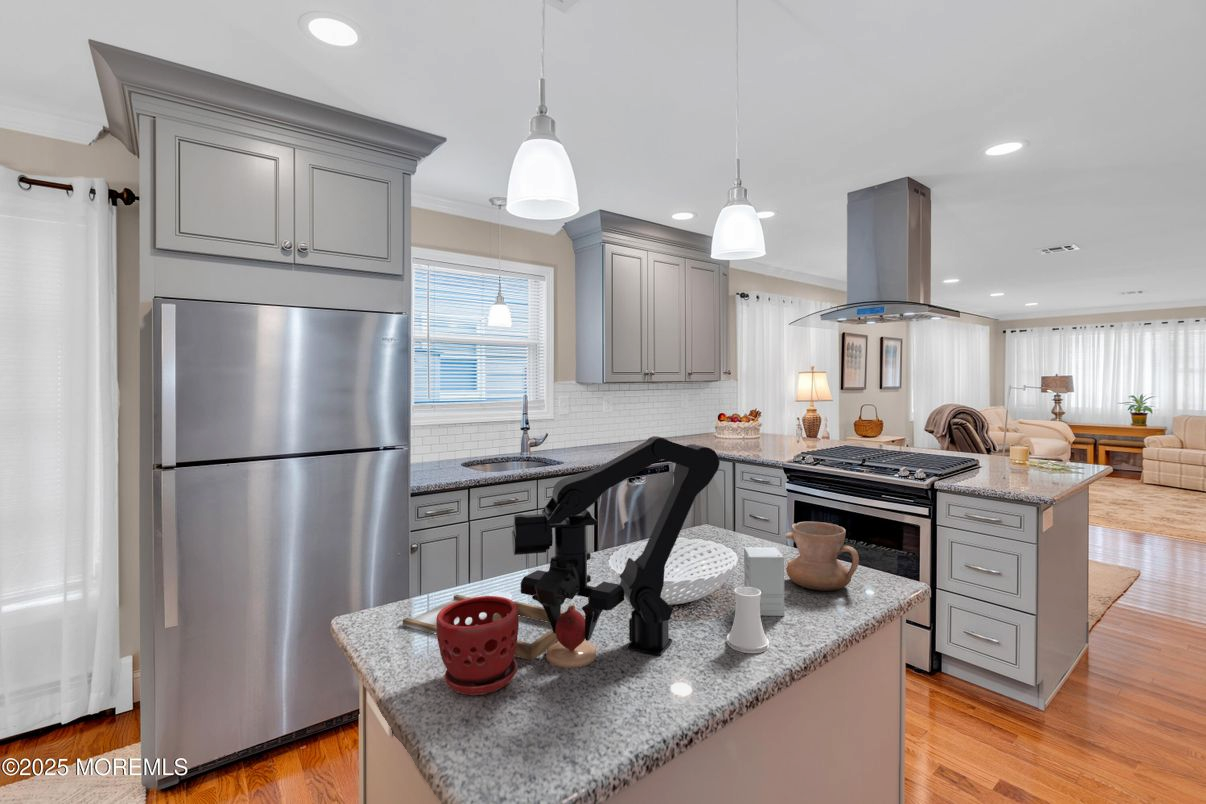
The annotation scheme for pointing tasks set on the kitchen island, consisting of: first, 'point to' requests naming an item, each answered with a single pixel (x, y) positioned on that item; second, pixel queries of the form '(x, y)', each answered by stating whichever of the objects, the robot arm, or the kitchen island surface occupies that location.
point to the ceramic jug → (820, 556)
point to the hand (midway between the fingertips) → (571, 636)
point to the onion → (570, 628)
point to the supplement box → (766, 578)
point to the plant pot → (478, 644)
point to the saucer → (571, 655)
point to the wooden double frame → (523, 649)
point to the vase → (747, 623)
